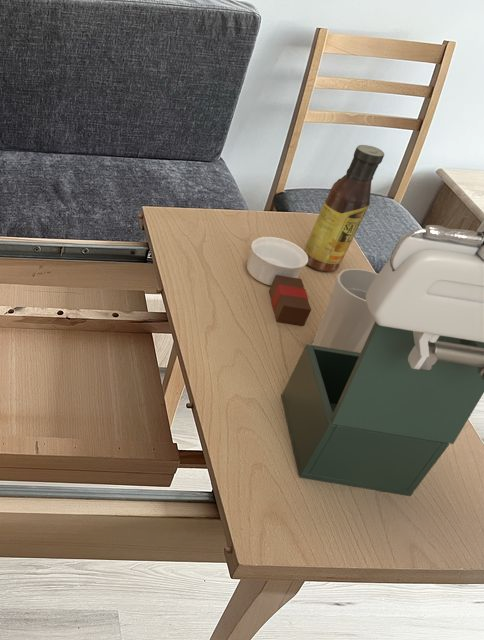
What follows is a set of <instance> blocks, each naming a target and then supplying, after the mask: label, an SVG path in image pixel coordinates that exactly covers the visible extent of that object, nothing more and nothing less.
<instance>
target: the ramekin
mask: <svg viewBox="0 0 484 640" xmlns="http://www.w3.org/2000/svg"><path fill="white" fill-rule="evenodd" d="M304 250H305V249H303V248H302V247H300V246H299V245H298V244H295V243H294V242H292V241H289V240H287V239H284V238H281V237H277V236H275V237H274V236H262V237H261V236H260V237H258V238H257V237H256V238H255V239H254V240H253V241H252V242H251V244H250V252H249V255H248V259H247V263H246V269H247V272H248V274H249V275H250V276H251V277H252V278H253V279H255V280H256V281H258V282H260V283H261V284H263V285H266V286H269V287H271V285H272V282H273V280H274V277H275V275H279V276H285V277H292V278H298V279H299V276H300V274H301V273H302V271H303V269H304V268H305V267H306V265H307V263H308V256H307V254H306V252H305V251H304Z"/></svg>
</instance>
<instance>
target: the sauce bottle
mask: <svg viewBox="0 0 484 640" xmlns="http://www.w3.org/2000/svg"><path fill="white" fill-rule="evenodd" d="M384 157H385V152H384V151H383V150H381V148H379V147H376V146H373V145H367V144H359V145H357V147H356V148H355V151H354V153H353V158H352V160H351V162H350V165H349V167H348V168H347V170H346V173H345V174H344V175H343V176H342V177H341V178H338V179H337V180H336V181H335V182H334V183H333V185H332V186H331V188H330V189H329V192H328V195H327V197H326V199H325V200H324V202H323V204H322V207H321V209H320V211H319V213H318V216H317V218H316V221H315V223H314V225H313V228H312V230H311V232H310V234H309V235H308V236H309V237H308V238H307V240H306V244H305V246H304V249H303V250H304V251H305V252H306V254H307V256H308V263H307V264H306V265H307V266H308V267H310V268H312V269H314V270H317V271H321V272H333V271H336V270H337V269H339V266H340V264H341V263H342V262H343V260H344V258H345V256H346V254H347V252H348V250H349V248H350V245H351V244H352V242H353V240H354V238H355V236H356V233H357V231H358V230H359V227H360V225H361V223H362V222H363V219H364V217H365V215H366V213H367V211H368V209H369V206H370V204H371V191H372V181H373V179H374V176H375V174H376V171H377V169H378V167H379V165H380V164H381V163H382V162H383V160H384Z"/></svg>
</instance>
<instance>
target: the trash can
mask: <svg viewBox="0 0 484 640" xmlns="http://www.w3.org/2000/svg"><path fill="white" fill-rule="evenodd" d="M359 355H360V353H358V352H352V351H346V350H340V349H333V348H327V347H321V346H315V345H313V346H312V344H305V346H304V348H303V350H302V352H301V354H300V356H299V358H298V360H297V363H296V365H295V367H294V369H293V371H292V372H291V375H290V377H289V379H288V381H287V383H286V384H285V387H284V389H283V391H282V394H281V395H280V396H281V401H282V406H283V411H284V415H285V419H286V422H287V423H286V424H287V429H288V432H289V437H290V442H291V447H292V450H293V455H294V459H295V464H296V468H297V473H298V477H299V478H301V479H307V480H313V481H318V482H324V483H329V484H335V485H343V486H347V487H353V488H359V489H360V488H361V489H365V490H372V491H378V492H384V493H389V494H394V495H395V494H396V495H401V496H407V497H412V495H413V494H414V493H415V491H416V489H417V488H418V487H419V485H421V483H422V482H423V480H424V479H425V478H426V476H427V475H428V474H429V472H430V471H431V470H432V468H433V467H434V466H435V464H436V463H437V462H438V460H439V459H440V458H441V456H442V455H443V454H444V452H445V451H446V450H447V448H448V447H449V446H450V443H444V442H438V441H432V440H426V439H420V438H414V437H408V436H402V435H396V434H390V433H384V432H378V431H372V430H366V429H360V428H354V427H348V426H342V425H336V424H332V423H331V420H330V419H331V417H332V414H333V412H334V410H335V408H336V406H337V404H338V401H339V399H340V397H341V395H342V393H343V390H344V388H345V386H346V384H347V382H348V380H349V377H350V375H351V373H352V371H353V369H354V366H355V364H356V362H357V360H358V358H359Z"/></svg>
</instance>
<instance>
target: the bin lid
mask: <svg viewBox="0 0 484 640" xmlns="http://www.w3.org/2000/svg"><path fill="white" fill-rule="evenodd" d="M414 346H415V343H414V336H413V331H410V330H403V329H397V328H391V327H385V326H380V325H378V324H377V323H376V322H375V323H374V325H373V327H372V329H371V331H370V334H369V336H368V338H367V340H366V342H365V345H364V347H363V349H362V351H361V353H360V355H359V358H358V360H357V362H356V364H355V366H354V369H353V371H352V373H351V375H350V377H349V380H348V382H347V384H346V386H345V388H344V390H343V393H342V395H341V397H340V399H339V401H338V404H337V406H336V408H335V410H334V412H333V414H332V417H331V419H330V420H331V423H332V424H336V425H342V426H348V427H354V428H360V429H366V430H372V431H378V432H384V433H390V434H396V435H402V436H408V437H414V438H420V439H426V440H432V441H438V442H444V443H449V445H454V444H455V442H456V440H457V438H458V437H459V435H460V433H461V432H462V430H463V429H464V427H465V425H466V424H467V422H468V421H469V418H470V417H471V415H472V414H473V412H474V410H475V408H476V407H477V405H478V403H479V402H480V401H481V398H482V397H483V395H484V380H482V378H481V375H480V374H479V373H478V367H484V342H478V341H472V340H465V339H459V338H453V337H447V336H441V335H440V336H439V338H438V339H437V341H436V342H434V343H433V342H430V341H429V342H428V346H432V348H433V350H434V353H435V354H436V356H437V358H438V360H437V361H436V363H435V364H434V365H432V369H431V370H430V371H424V370H418V369H412V368H411V366H410V364H409V362H408V356H409V354H410V352H411V351H412V349H413V347H414Z"/></svg>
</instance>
